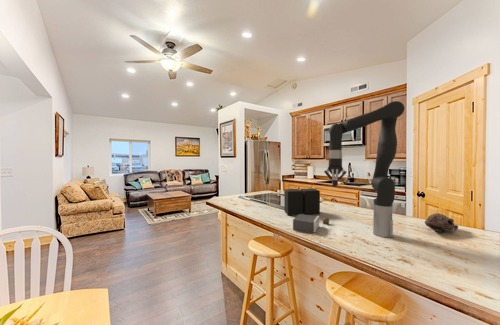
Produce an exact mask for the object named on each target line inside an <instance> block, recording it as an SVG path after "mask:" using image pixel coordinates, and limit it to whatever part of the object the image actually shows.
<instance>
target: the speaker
mask: <svg viewBox="0 0 500 325" xmlns="http://www.w3.org/2000/svg"><path fill="white" fill-rule="evenodd" d="M283 191H284V204H283V205H284V208H283V209H284V212H285V213H286V215H287V216H298V215H299V214H303V215H311V216H314V215H320V213H321V210H320V209H321V194H320V193H321V191H320V190H318V189H317V188H300V189H299V188H286V189H285V188H284V190H283Z"/></svg>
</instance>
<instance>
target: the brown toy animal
mask: <svg viewBox="0 0 500 325" xmlns="http://www.w3.org/2000/svg"><path fill="white" fill-rule="evenodd" d="M454 222H455V220H454V219H453V218H449V217H448V216H446V215H445V214H443V213H439V212H438V213H437V212H436V213H433V214H431V215H429V216H428V217H427V219H426V220H425V221H424V224H425V226H426V227H428V228H430V229H431V230H433V231H435V232H437V233H442V232H444V230H450V231H451V230H453V231H455V232H456V231H457V230H458V229H459V225H457V224H455V223H454Z"/></svg>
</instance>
